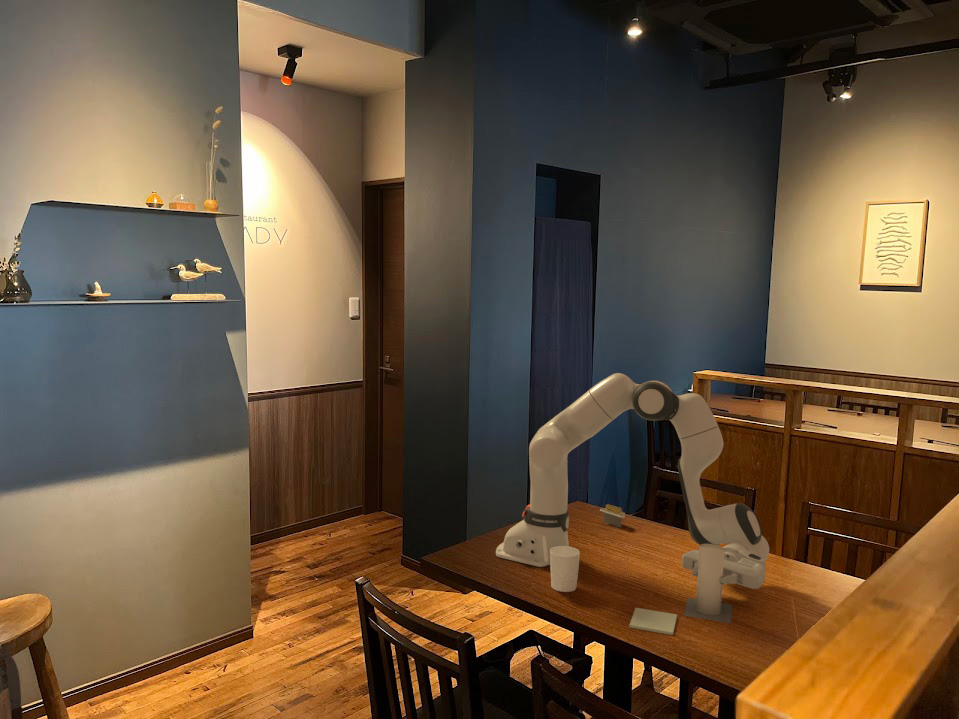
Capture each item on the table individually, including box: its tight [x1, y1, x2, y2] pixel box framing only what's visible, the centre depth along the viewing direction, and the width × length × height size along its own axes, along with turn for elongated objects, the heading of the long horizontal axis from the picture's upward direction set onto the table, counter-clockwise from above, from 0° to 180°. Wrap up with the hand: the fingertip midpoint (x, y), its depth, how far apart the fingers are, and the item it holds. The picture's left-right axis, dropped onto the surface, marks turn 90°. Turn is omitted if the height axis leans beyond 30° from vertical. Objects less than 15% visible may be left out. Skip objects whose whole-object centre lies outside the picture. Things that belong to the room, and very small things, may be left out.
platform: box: [599, 504, 626, 529], centre depth 244 cm, size 12×18×7 cm, turn 39°
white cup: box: [549, 545, 581, 593], centre depth 192 cm, size 8×8×10 cm
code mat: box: [683, 597, 733, 624], centre depth 180 cm, size 11×11×1 cm
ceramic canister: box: [695, 544, 724, 615], centre depth 179 cm, size 6×6×16 cm
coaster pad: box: [628, 607, 678, 636], centre depth 173 cm, size 10×10×1 cm
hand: (708, 577), depth 178 cm, fingers closed on ceramic canister, 6 cm apart
